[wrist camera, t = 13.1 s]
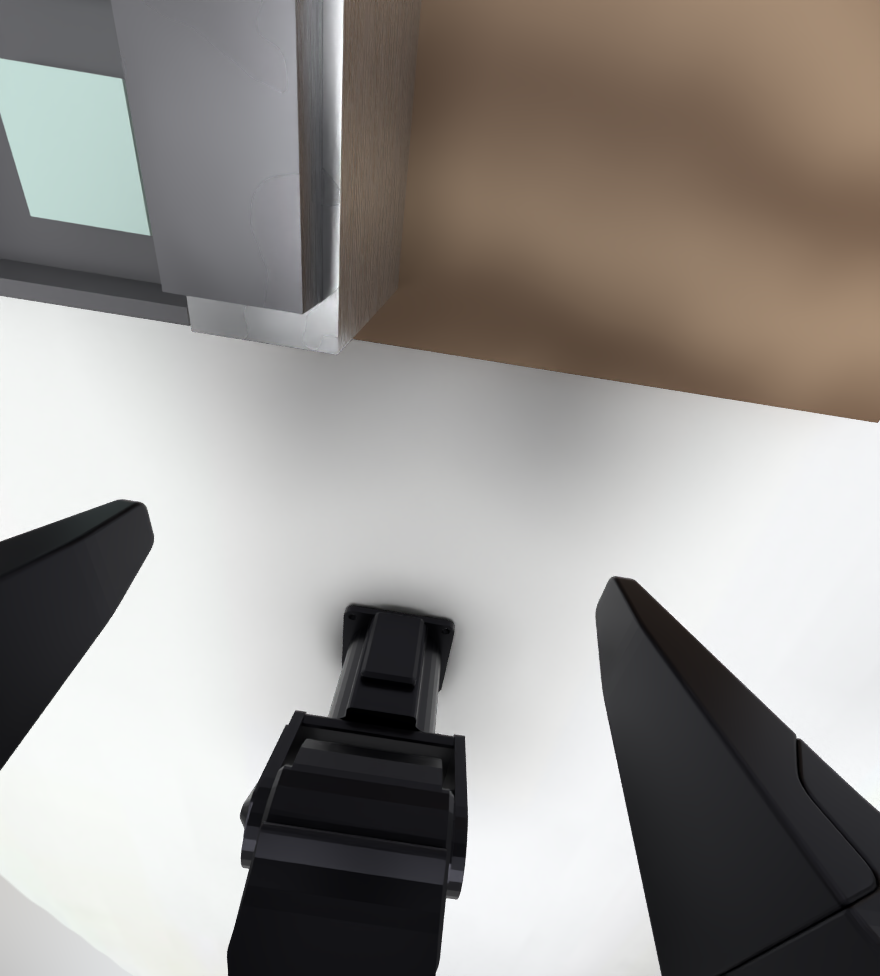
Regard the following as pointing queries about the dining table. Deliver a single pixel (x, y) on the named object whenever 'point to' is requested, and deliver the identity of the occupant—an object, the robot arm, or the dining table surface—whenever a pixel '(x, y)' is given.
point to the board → (649, 195)
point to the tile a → (74, 146)
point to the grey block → (274, 157)
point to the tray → (57, 244)
